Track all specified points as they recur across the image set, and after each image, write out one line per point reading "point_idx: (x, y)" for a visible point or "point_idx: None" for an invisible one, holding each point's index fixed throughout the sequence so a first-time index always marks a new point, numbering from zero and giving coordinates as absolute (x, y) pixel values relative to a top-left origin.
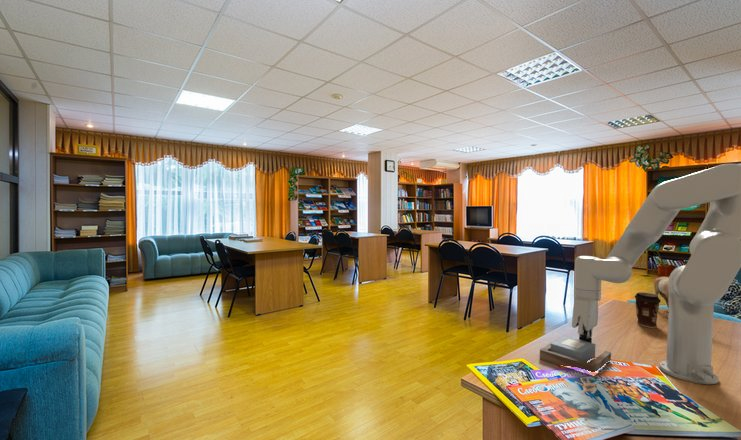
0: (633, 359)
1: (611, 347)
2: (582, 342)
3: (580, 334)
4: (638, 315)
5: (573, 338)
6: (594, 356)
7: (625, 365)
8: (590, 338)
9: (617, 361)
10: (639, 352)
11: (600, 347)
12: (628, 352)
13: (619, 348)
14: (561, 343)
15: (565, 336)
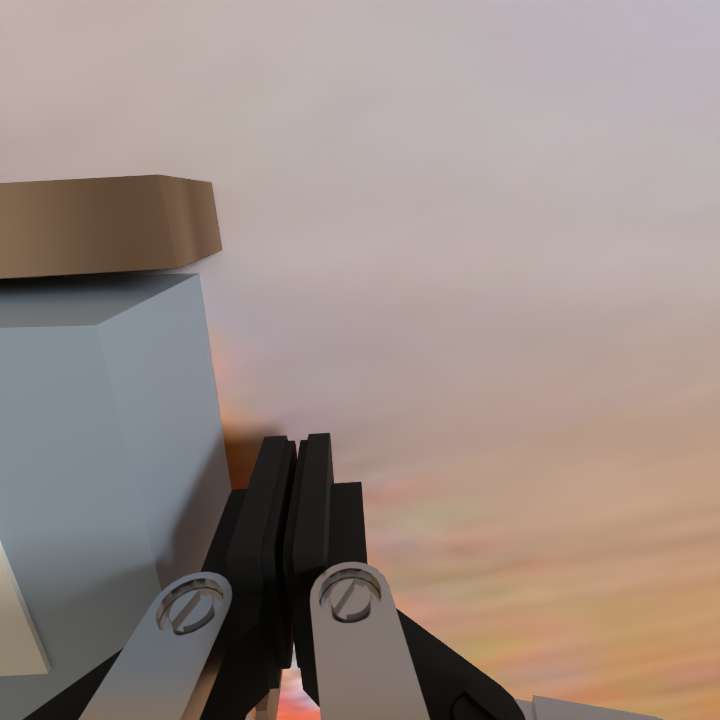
0: None
1: (691, 538)
2: (72, 626)
3: (78, 688)
4: None
5: (103, 485)
6: None
7: (317, 706)
8: (278, 686)
9: None
10: (712, 679)
11: (613, 484)
12: (650, 643)
13: (711, 581)
14: None
15: (55, 345)
